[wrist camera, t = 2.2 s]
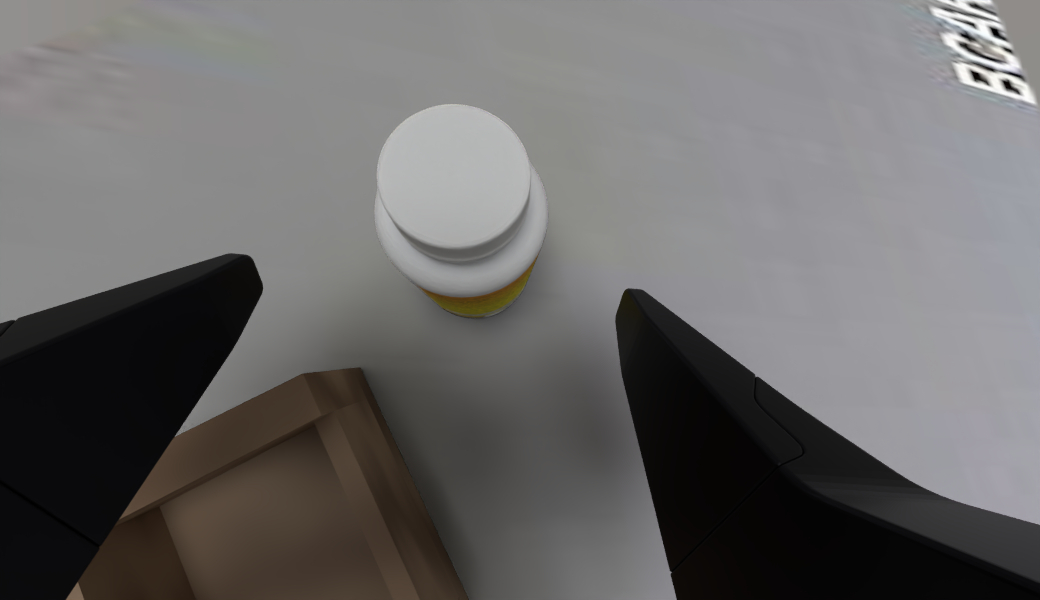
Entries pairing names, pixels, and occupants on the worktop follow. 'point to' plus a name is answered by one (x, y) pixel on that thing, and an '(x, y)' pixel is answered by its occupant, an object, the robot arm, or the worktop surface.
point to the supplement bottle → (460, 208)
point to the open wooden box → (279, 509)
